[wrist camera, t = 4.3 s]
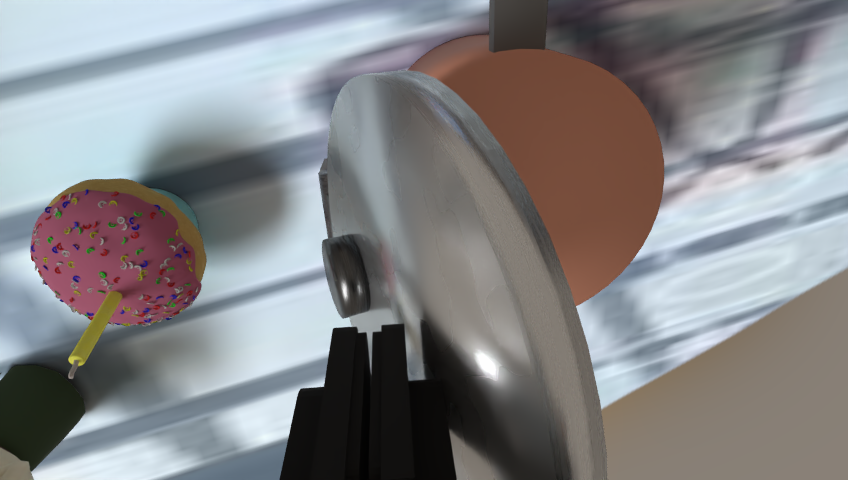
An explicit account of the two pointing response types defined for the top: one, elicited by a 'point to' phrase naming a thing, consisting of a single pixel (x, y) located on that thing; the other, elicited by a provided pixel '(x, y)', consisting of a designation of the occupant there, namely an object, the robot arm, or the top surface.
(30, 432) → the character mug
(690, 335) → the top surface
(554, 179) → the pot
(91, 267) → the cupcake
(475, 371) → the lid
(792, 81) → the top surface
